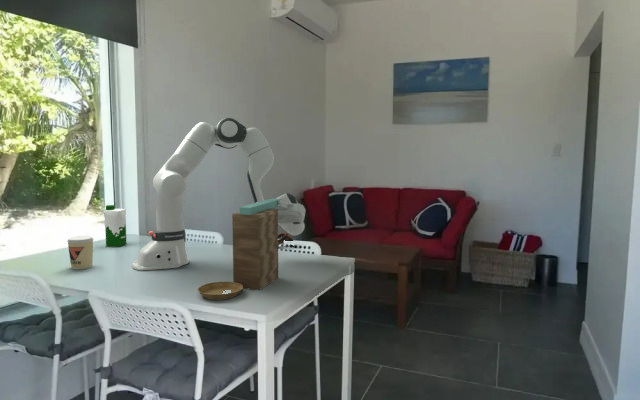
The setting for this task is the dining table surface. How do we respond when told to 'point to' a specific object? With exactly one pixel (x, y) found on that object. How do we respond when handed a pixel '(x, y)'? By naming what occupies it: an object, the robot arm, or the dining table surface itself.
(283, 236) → the pottery mug
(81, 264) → the coffee cup
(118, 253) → the dining table surface
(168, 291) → the dining table surface
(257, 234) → the shelf block
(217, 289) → the plant saucer
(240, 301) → the dining table surface
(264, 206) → the board
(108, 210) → the milk carton
